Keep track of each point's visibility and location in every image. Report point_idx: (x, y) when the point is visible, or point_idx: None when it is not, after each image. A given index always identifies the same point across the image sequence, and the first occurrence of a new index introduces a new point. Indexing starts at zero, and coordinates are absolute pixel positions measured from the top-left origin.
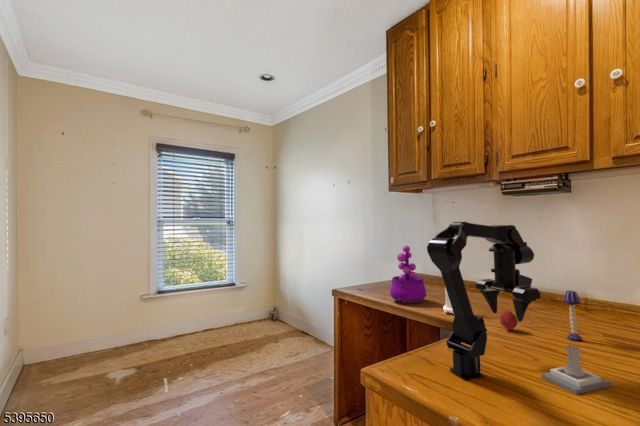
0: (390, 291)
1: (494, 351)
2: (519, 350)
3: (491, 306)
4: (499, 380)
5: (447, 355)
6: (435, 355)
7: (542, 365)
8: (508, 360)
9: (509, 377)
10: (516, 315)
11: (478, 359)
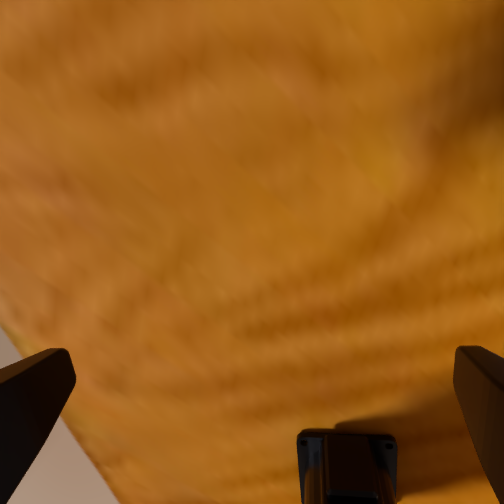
0: None
1: (165, 209)
2: (176, 51)
3: (16, 486)
4: (441, 405)
5: (172, 425)
6: (164, 461)
7: (397, 93)
8: (284, 225)
9: (437, 354)
10: (496, 485)
11: (382, 498)
